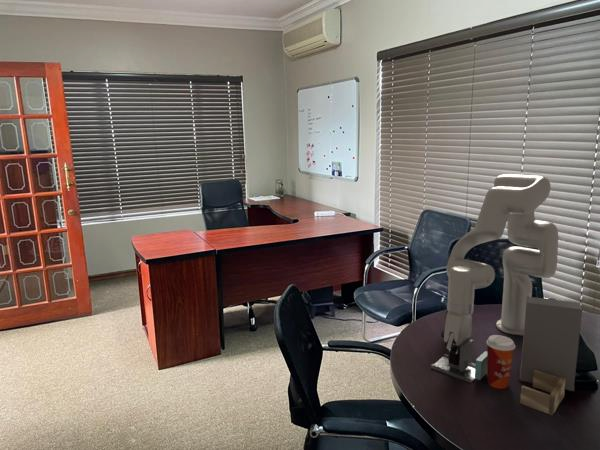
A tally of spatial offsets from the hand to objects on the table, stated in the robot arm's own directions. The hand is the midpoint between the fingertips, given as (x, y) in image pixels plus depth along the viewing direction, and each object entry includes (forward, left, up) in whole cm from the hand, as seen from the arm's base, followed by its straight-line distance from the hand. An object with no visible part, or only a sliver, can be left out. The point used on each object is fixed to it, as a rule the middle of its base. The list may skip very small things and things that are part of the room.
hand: (457, 360), depth 138 cm
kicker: (0, +3, -2) cm, 4 cm away
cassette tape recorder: (-11, +23, -3) cm, 25 cm away
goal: (0, +25, -3) cm, 25 cm away
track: (0, 0, -3) cm, 3 cm away
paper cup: (0, +13, -3) cm, 13 cm away
